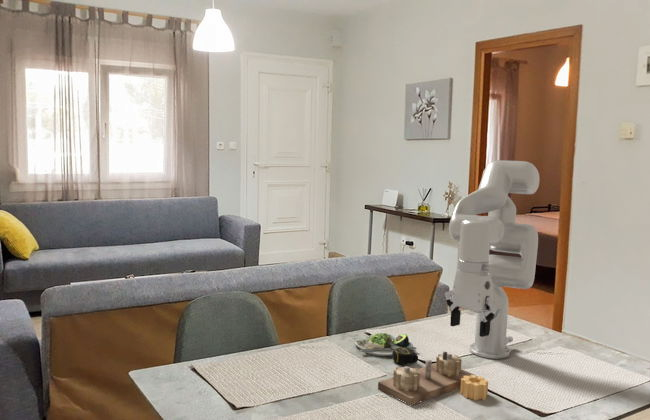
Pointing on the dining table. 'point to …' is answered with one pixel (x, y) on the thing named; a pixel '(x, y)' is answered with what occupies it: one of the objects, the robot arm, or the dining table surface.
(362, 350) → the salad plate
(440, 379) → the gear board
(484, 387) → the ochre gear
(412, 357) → the tape measure
